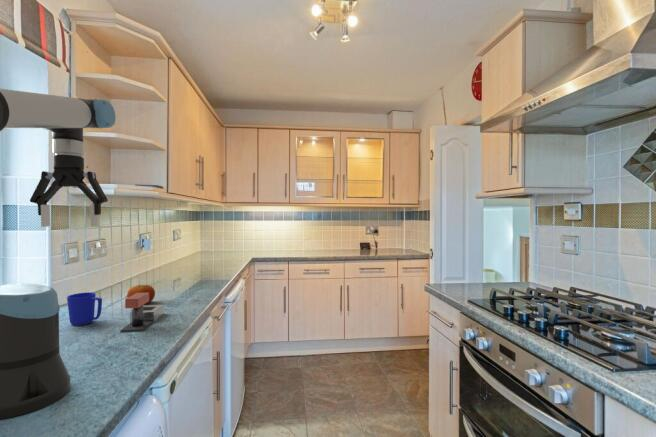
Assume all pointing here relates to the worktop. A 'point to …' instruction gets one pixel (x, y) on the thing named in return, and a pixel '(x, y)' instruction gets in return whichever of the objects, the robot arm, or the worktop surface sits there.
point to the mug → (83, 308)
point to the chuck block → (151, 312)
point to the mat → (140, 328)
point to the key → (137, 307)
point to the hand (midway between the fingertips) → (70, 226)
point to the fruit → (142, 291)
